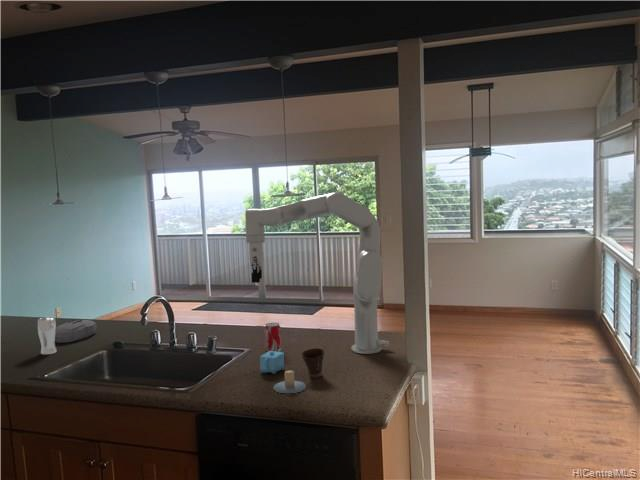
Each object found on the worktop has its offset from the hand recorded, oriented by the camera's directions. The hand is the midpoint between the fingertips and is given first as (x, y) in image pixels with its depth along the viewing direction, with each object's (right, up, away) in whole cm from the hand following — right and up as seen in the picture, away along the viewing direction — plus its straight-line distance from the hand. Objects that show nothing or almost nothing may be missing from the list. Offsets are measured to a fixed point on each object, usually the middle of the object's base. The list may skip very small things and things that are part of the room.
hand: (256, 280), depth 206 cm
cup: (+24, -33, -26) cm, 48 cm away
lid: (+16, -34, -36) cm, 52 cm away
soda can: (+6, -31, +4) cm, 31 cm away
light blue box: (+9, -32, -18) cm, 38 cm away
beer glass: (-92, -32, +11) cm, 98 cm away
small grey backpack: (-92, -31, +34) cm, 103 cm away
